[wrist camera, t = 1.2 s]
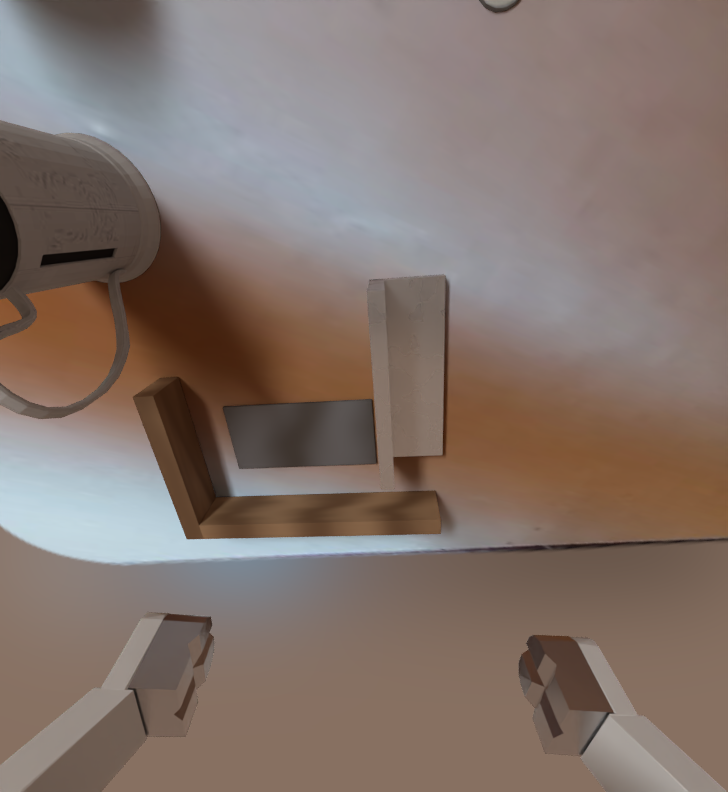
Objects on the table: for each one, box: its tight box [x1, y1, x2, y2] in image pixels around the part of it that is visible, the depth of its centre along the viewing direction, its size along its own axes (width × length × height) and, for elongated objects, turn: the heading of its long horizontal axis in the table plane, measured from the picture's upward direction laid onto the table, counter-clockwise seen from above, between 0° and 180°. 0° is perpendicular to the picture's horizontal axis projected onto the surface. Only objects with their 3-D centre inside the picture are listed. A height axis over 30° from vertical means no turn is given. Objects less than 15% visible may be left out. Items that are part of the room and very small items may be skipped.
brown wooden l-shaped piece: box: [133, 377, 441, 539], centre depth 29 cm, size 22×14×4 cm, turn 94°
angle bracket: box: [367, 274, 446, 489], centre depth 26 cm, size 14×5×5 cm, turn 4°
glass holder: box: [0, 121, 161, 419], centre depth 18 cm, size 9×14×15 cm, turn 32°
